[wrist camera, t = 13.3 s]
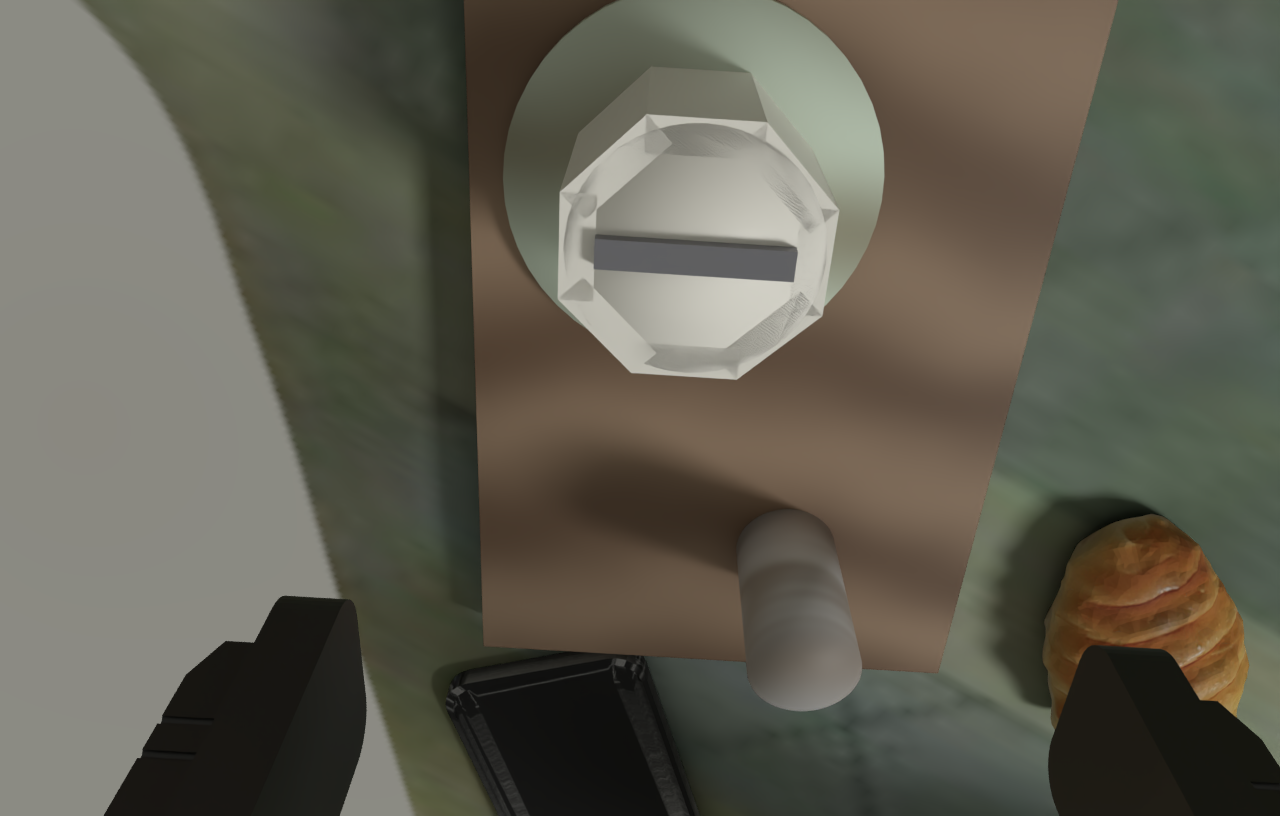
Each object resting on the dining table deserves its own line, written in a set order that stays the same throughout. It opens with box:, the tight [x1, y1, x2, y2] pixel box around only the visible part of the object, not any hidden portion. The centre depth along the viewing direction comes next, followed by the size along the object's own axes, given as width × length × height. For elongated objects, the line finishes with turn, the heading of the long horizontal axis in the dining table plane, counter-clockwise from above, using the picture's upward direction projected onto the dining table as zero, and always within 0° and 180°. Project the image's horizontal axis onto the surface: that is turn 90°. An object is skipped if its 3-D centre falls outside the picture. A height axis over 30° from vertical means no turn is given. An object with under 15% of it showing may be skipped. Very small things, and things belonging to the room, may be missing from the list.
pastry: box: [1042, 514, 1249, 729], centre depth 35 cm, size 9×7×4 cm
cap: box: [558, 66, 840, 380], centre depth 24 cm, size 6×6×5 cm
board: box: [464, 0, 1118, 711], centre depth 28 cm, size 23×16×7 cm
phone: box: [446, 651, 700, 816], centre depth 41 cm, size 8×1×15 cm
